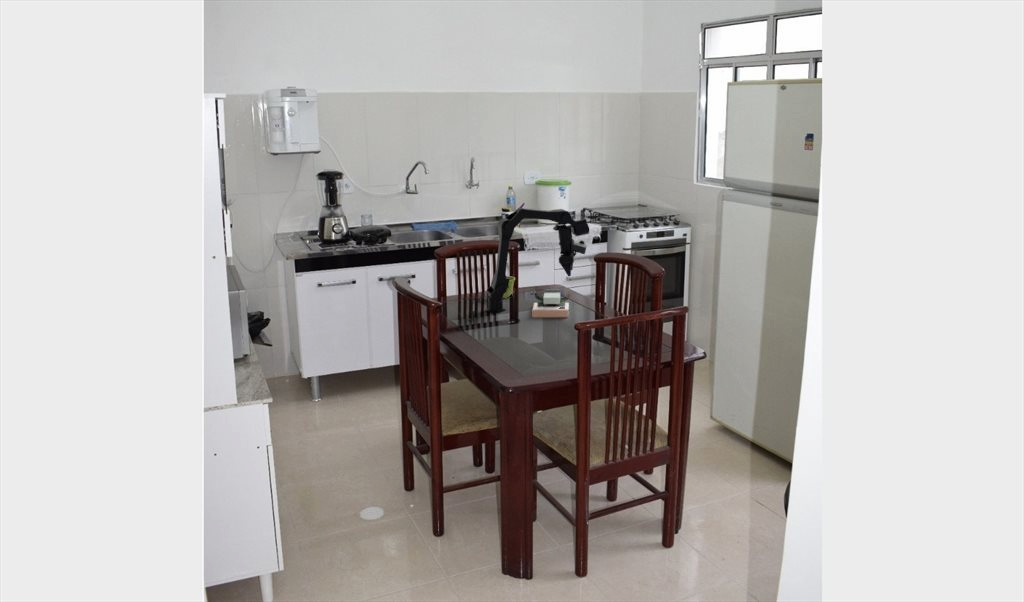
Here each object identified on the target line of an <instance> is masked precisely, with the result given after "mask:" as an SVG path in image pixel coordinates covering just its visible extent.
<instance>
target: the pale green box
mask: <svg viewBox="0 0 1024 602" xmlns="http://www.w3.org/2000/svg"><path fill="white" fill-rule="evenodd" d="M543 291H544V292H543V293H544V294H543V305H544V307H548V305H556V306H555V307H560V303H561V288H560V289H559V288H556V289H555V288H551V289H550V288H547V289H544V290H543Z"/></svg>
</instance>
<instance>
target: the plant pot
mask: <svg viewBox="0 0 1024 602" xmlns="http://www.w3.org/2000/svg"><path fill="white" fill-rule="evenodd" d="M506 276H507V277H508V278H509V279H510V280H509V284H508V286H509V288H507V291H506V292H505V293H504V295H503V298H502V299H508V298H507V297H509V296H510V295H511V294H512V295H513V293H514V292H513V289H514V283H515V280H516V277H514V276H510V275H506ZM509 298H510V297H509Z"/></svg>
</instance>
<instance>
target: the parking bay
mask: <svg viewBox="0 0 1024 602" xmlns="http://www.w3.org/2000/svg"><path fill="white" fill-rule="evenodd" d="M538 303H539V302H534V303H533V306H532V309H531V317H532V318H569V311H568V310H569V309H570V305H569V304H570V303H569V302H565V303H564V307H565V309H559V308H560V307H561V306H538V305H539V304H538Z"/></svg>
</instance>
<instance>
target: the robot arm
mask: <svg viewBox="0 0 1024 602" xmlns="http://www.w3.org/2000/svg"><path fill="white" fill-rule="evenodd" d="M524 219H533V220H543V221H544V220H545V221H551V222H555V225H554V226H553V228H552V230H554V231H557V233H558V239H559V242H558V245H559V247H560V249H559V250H560V252H559V253H560V256H559V257H558V263H559V265H560V266H561V267H562V269H563V270H564V272H565V273H566V275H567V276H568V277H571V275H572V271H573V269H574V268H573V267H574V262H575V256H576V255H577V253H578V254H580V255H581V254H582V255H585V254H586V252H587V251H586V250H587V246H588V245H587V243H585V240H580V241H579V242H577V241H576V242H575V240H574V238H573V235H574V237H580V236H585V235H589V234H590V226H589V223H588V222H587V219H586V218H581V219H577V220H574V218H572V214H571V213H570V212H569V211H568V210H566V209H563V208H559V209H558V208H557V209H551V210H543V209H533V208H525V207H524V208H523V207H518V208H516V210H515V211H513V212H512V213H509V214H508V215H507V216H505V217H502V218H500V219H499V220H498V221H497V232H498V233H497V234H498V239H499V241H498V247H497V248H498V250H497V256H496V257H497V259H496V266H495V267H496V268H495V272H494V275H493V277H492V280H491V282H490V286H489V287H488V288H487V289H486V290H485V293H486V295H487V308H485V309H484V310H485V311H486V312H489V313H491V314H496V313H500V312H501V313H502V312H504V311H506V309H505V308H504V306H503V305H504V304H503V299H504V298H503V295H504V293H505V292H506V291H507V288H509V286H508V284H509V280H510V279H509V278H508V277H507V276H508V275H507V273H506V272H507V265H508V256H509V249H510V248H509V247H510V241H511V239H512V237H513V234H514V231H515V228H516V227H517V226H518V225H519V224H520V223H521V221H523V220H524ZM559 224H560V225H559ZM567 224H568V225H567Z"/></svg>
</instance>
